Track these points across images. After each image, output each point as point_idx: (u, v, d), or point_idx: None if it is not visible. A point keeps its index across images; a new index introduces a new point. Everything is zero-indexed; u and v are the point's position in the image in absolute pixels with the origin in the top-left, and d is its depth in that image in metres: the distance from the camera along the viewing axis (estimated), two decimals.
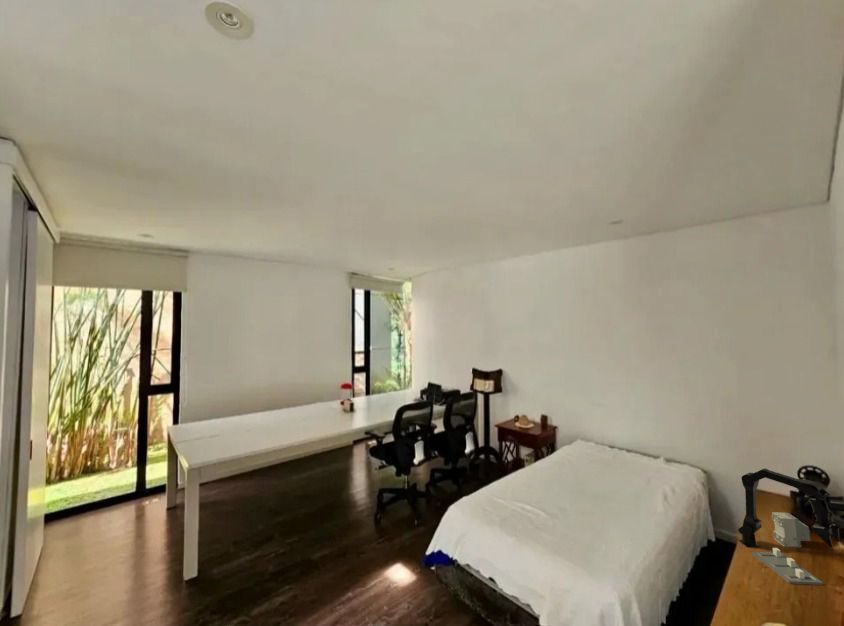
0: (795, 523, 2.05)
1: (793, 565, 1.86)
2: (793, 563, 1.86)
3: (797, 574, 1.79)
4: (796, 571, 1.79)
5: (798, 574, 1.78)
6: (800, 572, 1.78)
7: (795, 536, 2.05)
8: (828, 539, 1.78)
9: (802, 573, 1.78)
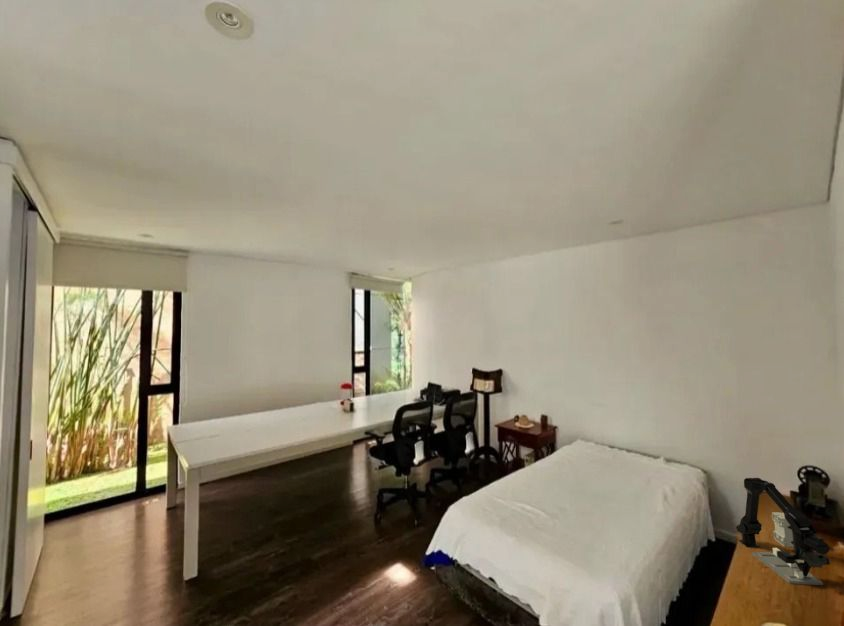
0: None
1: (793, 565, 1.86)
2: None
3: (796, 574, 1.79)
4: (795, 571, 1.79)
5: (796, 574, 1.79)
6: (799, 572, 1.78)
7: None
8: (801, 568, 1.78)
9: (801, 573, 1.78)
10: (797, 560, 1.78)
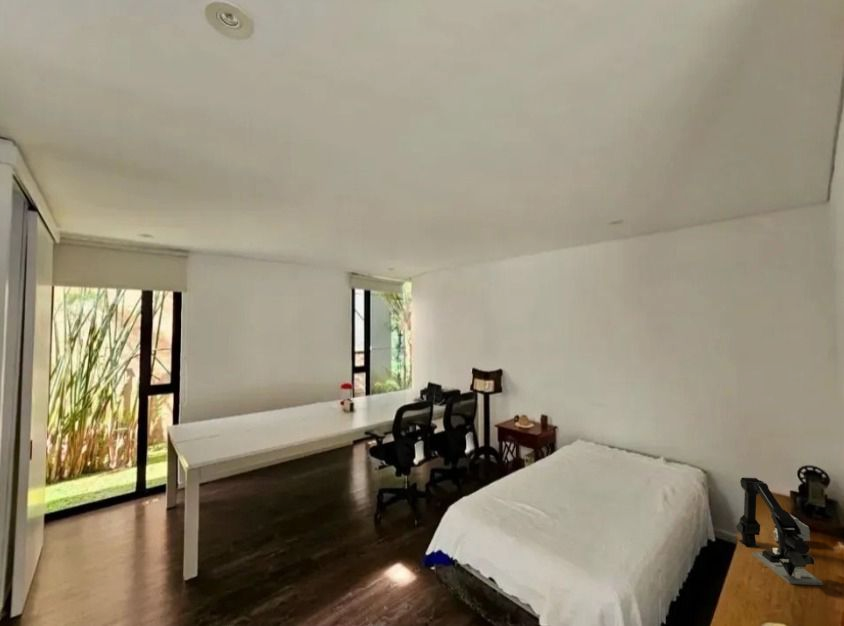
0: None
1: None
2: None
3: (793, 574, 1.79)
4: None
5: (794, 574, 1.79)
6: (796, 572, 1.78)
7: None
8: (786, 568, 1.79)
9: (798, 573, 1.78)
10: (782, 559, 1.79)
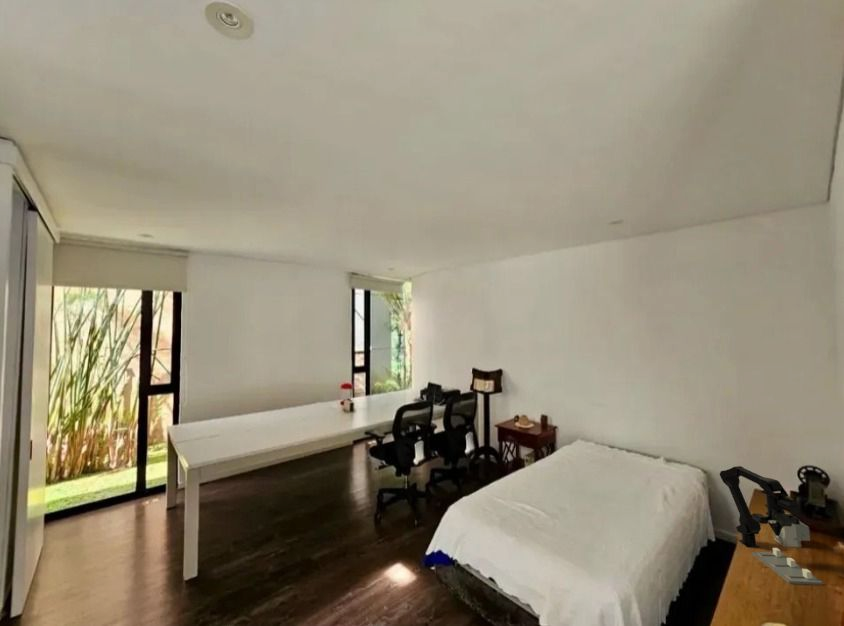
0: None
1: (793, 565, 1.86)
2: (793, 563, 1.86)
3: (804, 574, 1.78)
4: (803, 571, 1.79)
5: (805, 574, 1.78)
6: (807, 572, 1.77)
7: (795, 536, 2.05)
8: (774, 528, 1.94)
9: (809, 573, 1.77)
10: (770, 521, 1.93)
